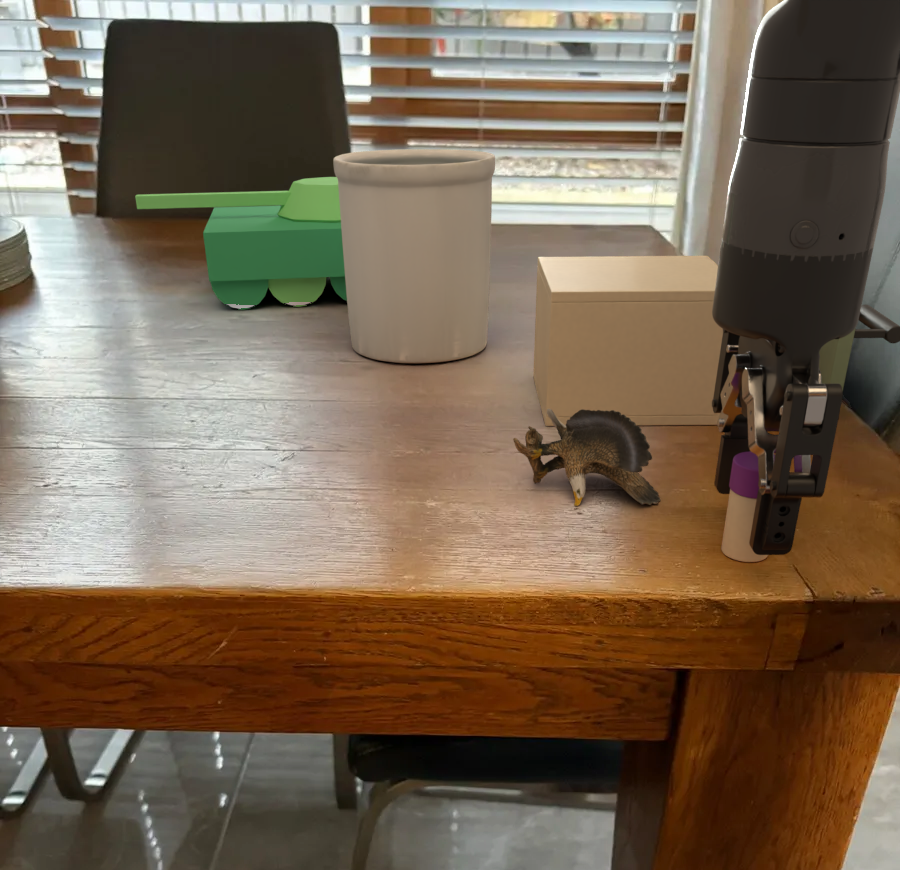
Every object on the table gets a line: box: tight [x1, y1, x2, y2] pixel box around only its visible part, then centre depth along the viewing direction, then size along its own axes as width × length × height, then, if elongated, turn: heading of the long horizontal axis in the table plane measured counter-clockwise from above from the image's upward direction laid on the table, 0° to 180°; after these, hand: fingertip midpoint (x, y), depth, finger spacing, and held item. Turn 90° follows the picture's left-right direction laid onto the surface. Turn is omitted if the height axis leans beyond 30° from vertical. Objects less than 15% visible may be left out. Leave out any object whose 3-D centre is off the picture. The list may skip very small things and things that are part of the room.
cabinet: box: [532, 255, 723, 427], centre depth 81 cm, size 15×13×11 cm
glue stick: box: [720, 451, 775, 563], centre depth 58 cm, size 3×3×6 cm
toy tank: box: [134, 176, 347, 311], centre depth 115 cm, size 18×12×35 cm
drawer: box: [819, 303, 900, 392], centre depth 81 cm, size 18×11×9 cm, turn 90°
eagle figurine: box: [512, 409, 662, 507], centre depth 66 cm, size 8×7×9 cm
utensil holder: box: [332, 148, 496, 364], centre depth 94 cm, size 15×15×18 cm
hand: (749, 519), depth 59 cm, fingers open, 8 cm apart
